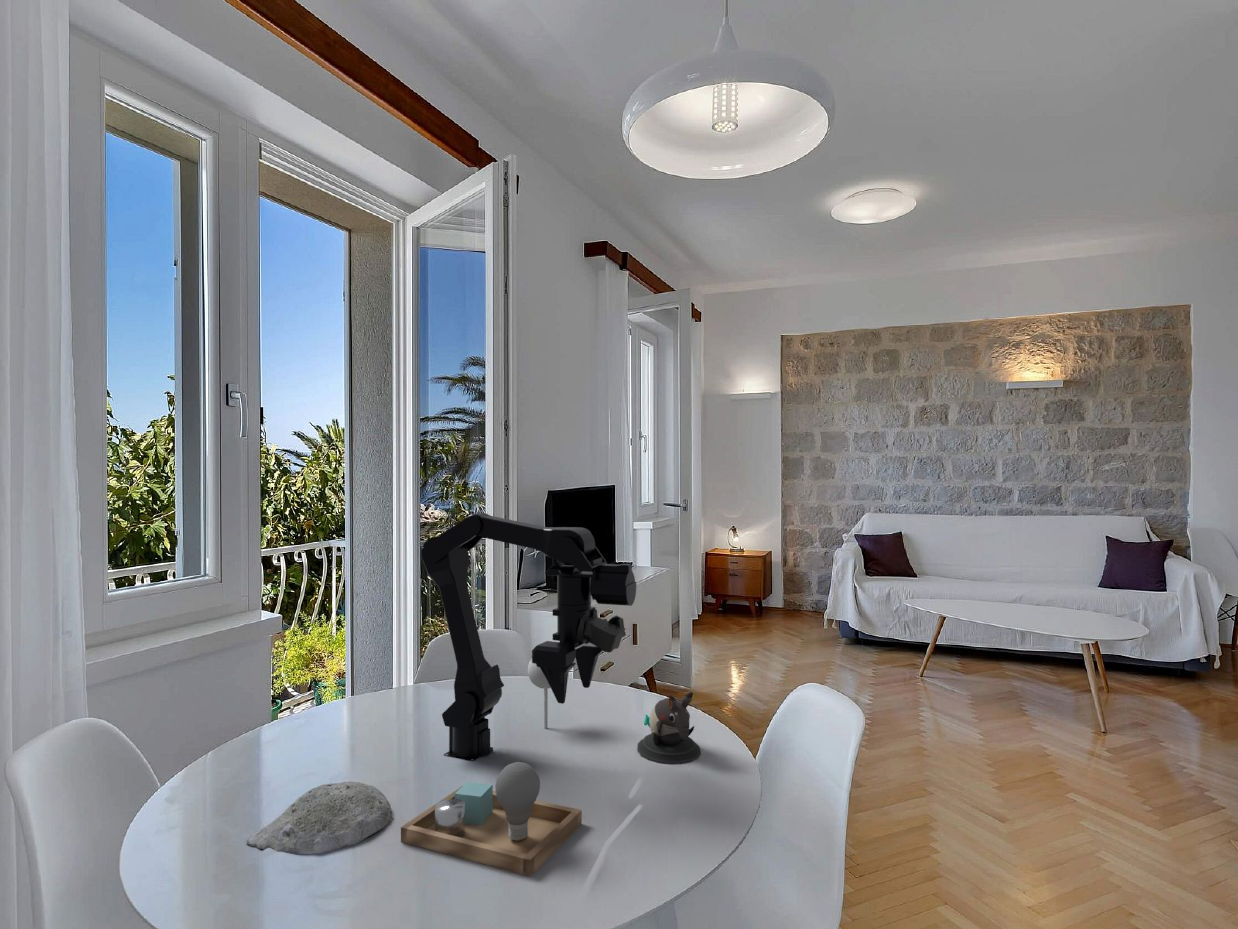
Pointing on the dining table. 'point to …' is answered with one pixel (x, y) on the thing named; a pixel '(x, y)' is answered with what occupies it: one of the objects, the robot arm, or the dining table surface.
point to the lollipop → (540, 685)
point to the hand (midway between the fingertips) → (574, 695)
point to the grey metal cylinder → (450, 817)
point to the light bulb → (517, 796)
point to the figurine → (669, 733)
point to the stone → (326, 819)
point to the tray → (498, 836)
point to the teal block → (476, 801)
